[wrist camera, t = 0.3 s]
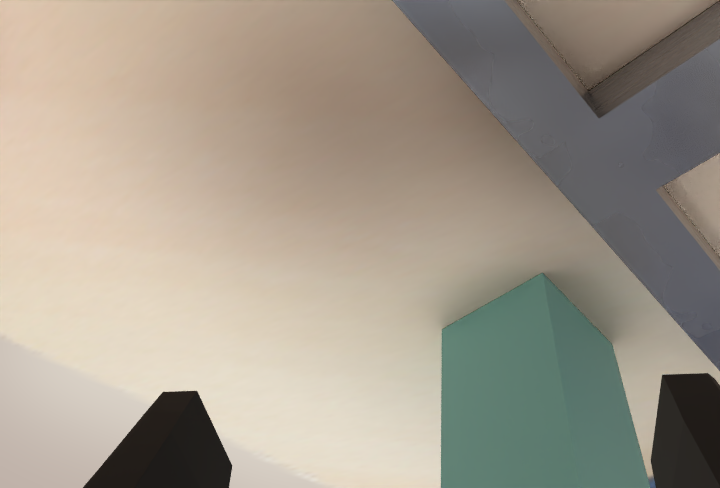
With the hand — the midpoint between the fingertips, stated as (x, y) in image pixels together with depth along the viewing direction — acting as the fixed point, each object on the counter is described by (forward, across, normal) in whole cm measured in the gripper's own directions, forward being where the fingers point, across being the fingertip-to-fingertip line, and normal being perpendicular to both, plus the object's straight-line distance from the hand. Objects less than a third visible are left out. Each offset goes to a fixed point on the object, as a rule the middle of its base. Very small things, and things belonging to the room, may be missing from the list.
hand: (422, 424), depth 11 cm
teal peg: (+10, -2, +8) cm, 13 cm away
